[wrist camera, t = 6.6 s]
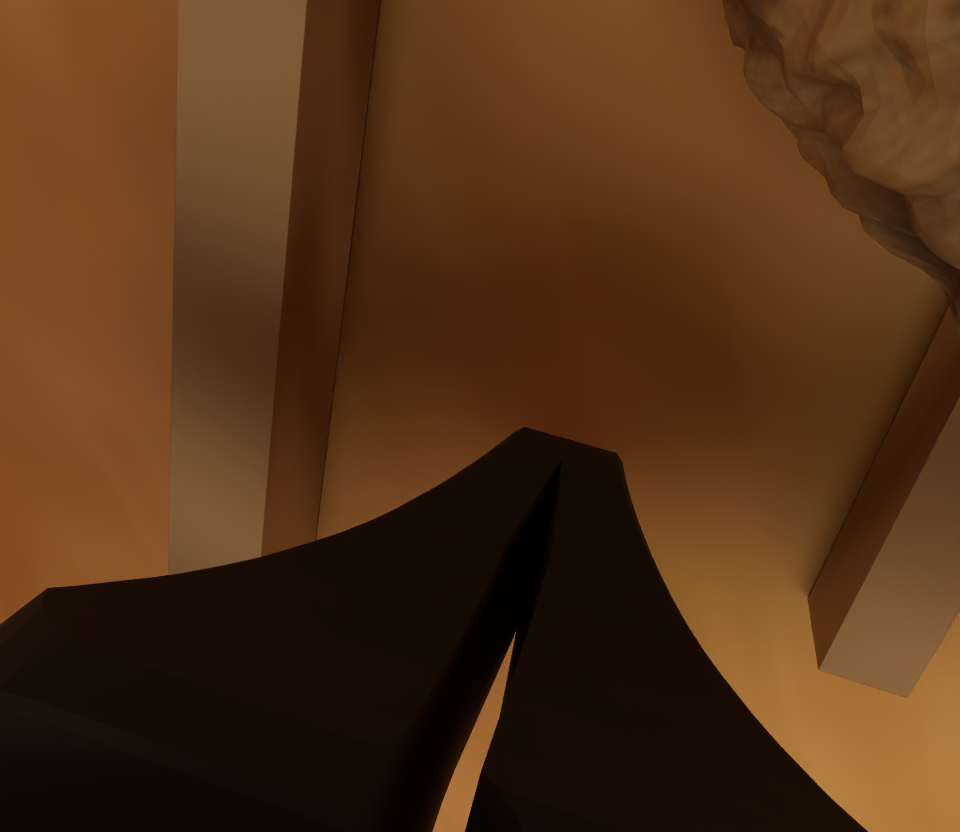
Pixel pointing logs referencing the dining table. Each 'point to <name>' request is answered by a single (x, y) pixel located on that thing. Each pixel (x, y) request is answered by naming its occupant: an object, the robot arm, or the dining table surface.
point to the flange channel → (317, 322)
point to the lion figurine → (870, 112)
